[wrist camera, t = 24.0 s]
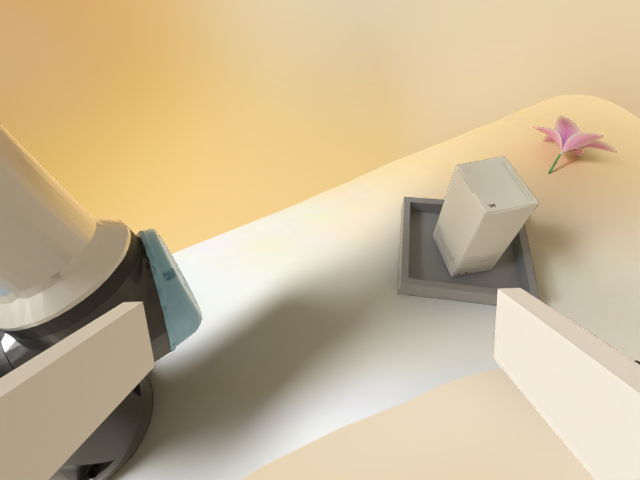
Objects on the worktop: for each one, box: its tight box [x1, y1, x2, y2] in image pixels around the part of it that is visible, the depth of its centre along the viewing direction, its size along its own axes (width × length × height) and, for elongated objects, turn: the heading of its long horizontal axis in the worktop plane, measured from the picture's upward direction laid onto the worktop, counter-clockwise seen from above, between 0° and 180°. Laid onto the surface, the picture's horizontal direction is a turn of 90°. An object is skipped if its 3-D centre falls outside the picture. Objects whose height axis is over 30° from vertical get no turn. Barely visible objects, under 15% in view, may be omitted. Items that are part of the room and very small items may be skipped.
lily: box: [533, 116, 617, 174], centre depth 56 cm, size 12×12×10 cm
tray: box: [398, 197, 540, 306], centre depth 49 cm, size 18×16×4 cm
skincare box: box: [433, 156, 539, 277], centre depth 43 cm, size 8×7×16 cm
